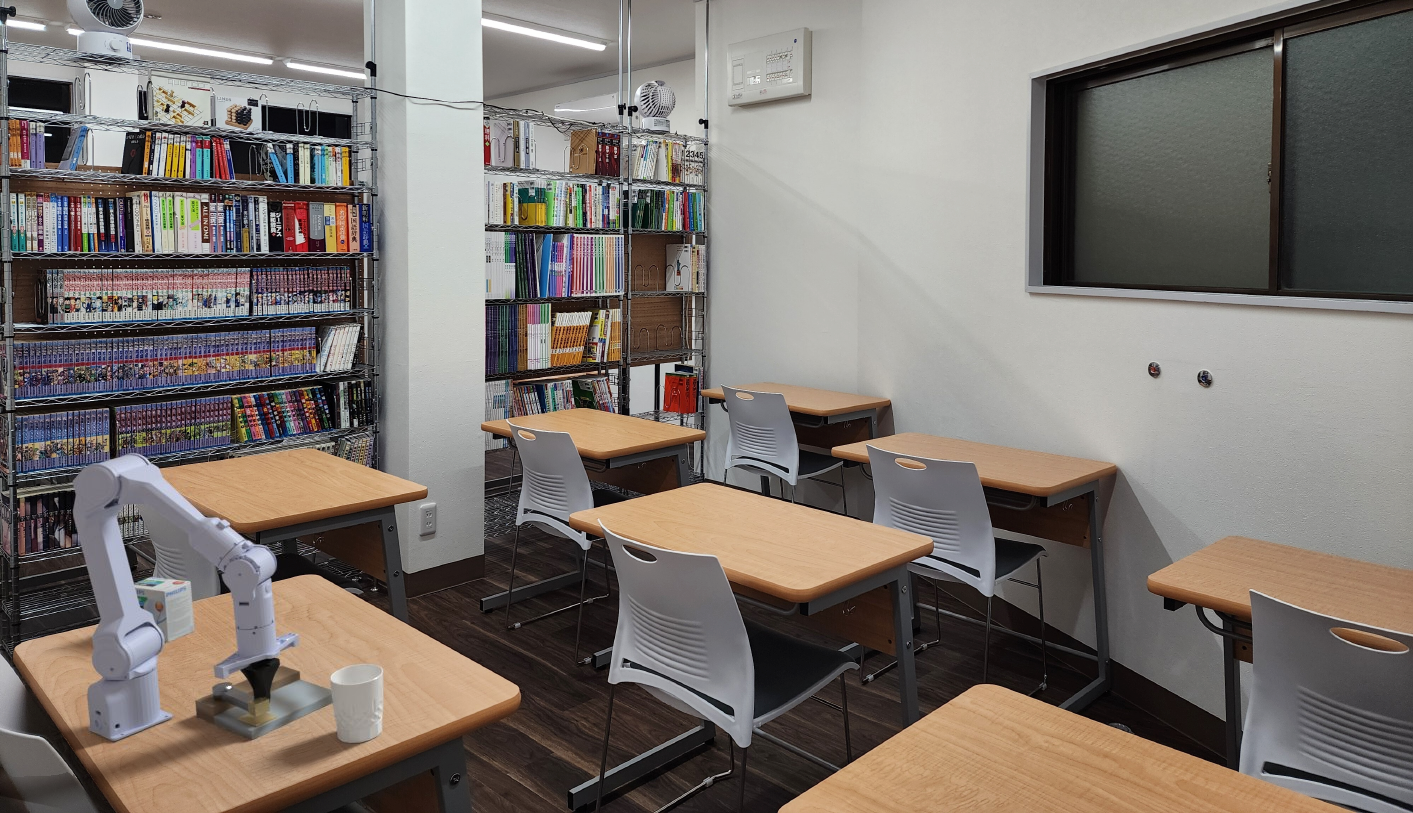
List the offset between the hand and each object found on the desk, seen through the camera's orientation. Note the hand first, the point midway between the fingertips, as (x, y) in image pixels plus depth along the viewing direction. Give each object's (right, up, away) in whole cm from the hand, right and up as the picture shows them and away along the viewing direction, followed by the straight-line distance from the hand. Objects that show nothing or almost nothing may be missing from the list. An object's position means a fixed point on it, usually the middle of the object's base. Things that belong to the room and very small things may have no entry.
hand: (262, 703), depth 151 cm
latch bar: (-4, 0, +1) cm, 4 cm away
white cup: (+17, -4, -3) cm, 18 cm away
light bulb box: (-39, +1, +39) cm, 56 cm away
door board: (-1, -3, +6) cm, 7 cm away
